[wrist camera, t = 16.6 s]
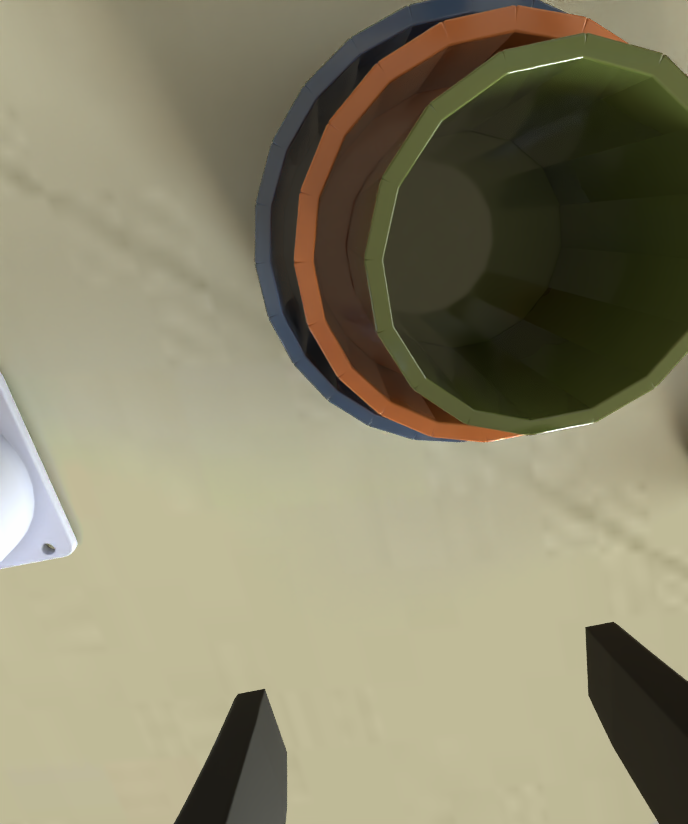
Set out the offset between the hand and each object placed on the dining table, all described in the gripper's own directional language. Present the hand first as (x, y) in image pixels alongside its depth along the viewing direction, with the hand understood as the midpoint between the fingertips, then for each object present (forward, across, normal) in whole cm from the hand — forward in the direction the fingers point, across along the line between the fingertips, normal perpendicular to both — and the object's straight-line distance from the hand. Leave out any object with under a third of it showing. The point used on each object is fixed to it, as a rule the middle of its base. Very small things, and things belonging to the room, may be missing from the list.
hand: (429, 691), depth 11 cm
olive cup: (+6, -3, -9) cm, 11 cm away
